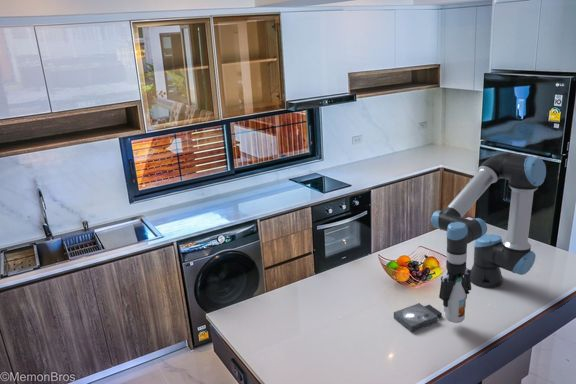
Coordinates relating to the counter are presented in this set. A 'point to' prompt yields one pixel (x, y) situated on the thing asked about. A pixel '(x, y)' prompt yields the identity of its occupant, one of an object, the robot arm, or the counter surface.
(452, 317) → the milk bottle
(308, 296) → the counter surface
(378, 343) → the counter surface
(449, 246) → the robot arm
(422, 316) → the dark grey flat block
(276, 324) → the counter surface
